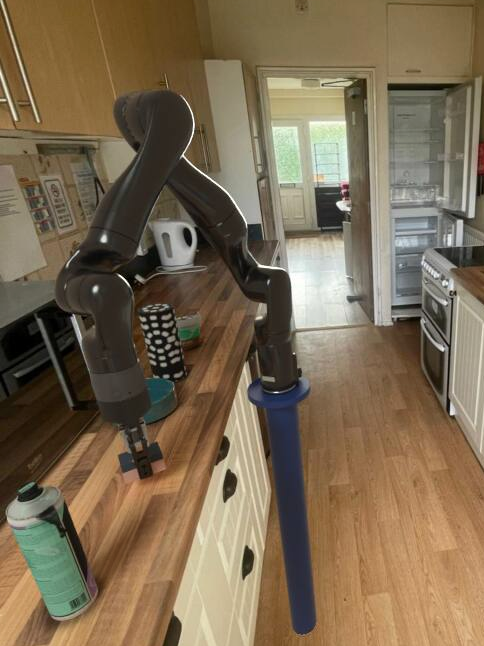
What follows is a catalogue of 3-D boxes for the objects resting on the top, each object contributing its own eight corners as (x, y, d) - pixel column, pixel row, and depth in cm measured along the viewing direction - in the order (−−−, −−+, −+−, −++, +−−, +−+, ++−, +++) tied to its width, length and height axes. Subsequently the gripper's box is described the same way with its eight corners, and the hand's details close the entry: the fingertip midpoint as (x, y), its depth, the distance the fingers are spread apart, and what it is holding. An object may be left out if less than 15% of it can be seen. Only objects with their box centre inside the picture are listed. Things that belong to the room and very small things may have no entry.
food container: (171, 355, 130) (164, 325, 126) (164, 349, 134) (158, 319, 131) (211, 344, 138) (206, 315, 134) (203, 339, 142) (198, 310, 138)
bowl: (170, 389, 111) (166, 372, 109) (184, 414, 100) (180, 396, 98) (104, 407, 103) (99, 389, 101) (112, 437, 92) (106, 417, 90)
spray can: (107, 583, 61) (66, 470, 53) (80, 621, 56) (31, 503, 48) (69, 581, 61) (23, 469, 53) (39, 620, 56) (-16, 502, 48)
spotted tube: (188, 368, 123) (176, 301, 115) (184, 381, 115) (170, 311, 107) (157, 371, 121) (142, 304, 113) (150, 385, 113) (133, 314, 105)
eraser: (161, 458, 81) (157, 441, 79) (166, 469, 78) (161, 451, 77) (123, 472, 77) (117, 454, 76) (126, 484, 75) (120, 466, 73)
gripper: (154, 399, 68) (175, 483, 75) (139, 366, 78) (158, 442, 85) (99, 415, 64) (127, 502, 71) (90, 378, 74) (115, 457, 81)
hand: (144, 469), depth 78 cm, fingers closed on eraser, 3 cm apart
